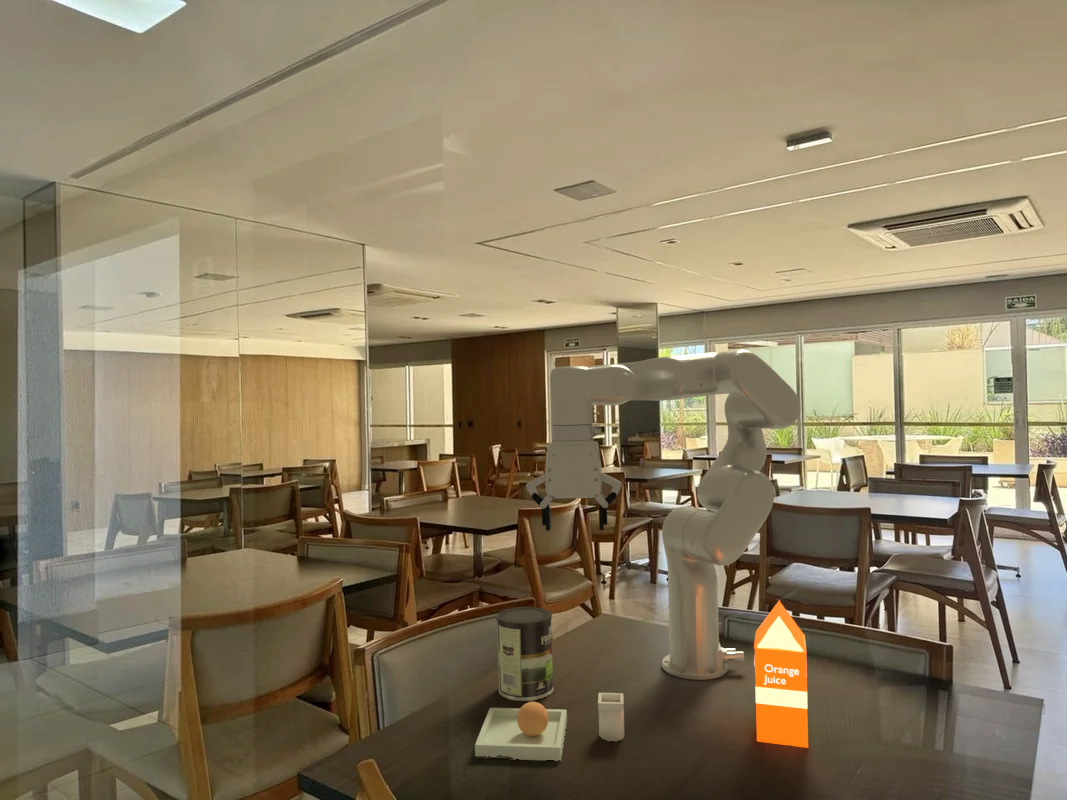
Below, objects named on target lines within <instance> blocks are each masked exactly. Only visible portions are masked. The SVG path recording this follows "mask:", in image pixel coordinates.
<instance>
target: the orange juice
mask: <svg viewBox="0 0 1067 800" xmlns="http://www.w3.org/2000/svg"><path fill="white" fill-rule="evenodd" d="M753 649H754V658H753V659H754V660H753V663H754V668H755V669H754V674H755V679H754V680H755V685H754V686H755V687H754V689H755V710H756V711H755V713H756V714H755V715H756V717H755V718H756V721H755V722H756V723H755V724H756V742H758V743H759V742H760V743H765V744H766V743H767V744H775V745H783V746H789V747H790V745H791V746H792V747H798V748H799V747H800V748H804V749H805V748H806V749H808V748H809V727H808V726H809V724H808V720H809V719H808V683H807V682H808V680H807V678H808V673H807V672H808V670H807V661H808V660H807V642H806V636H805V634H804V633H803V631H802V630H801V629H800V627H799V626H798V624H797V622H796V621H795V620H794V619H793V617H792V616H791V615H790V613H789V612H788V611H787V609H786V608H785V607H784V605H783V604H782V603H781V600H780V599H779V600H778V601H777V603H776V604H775V605H774V607H772V610H771V611H770V612H769V613H768V614H767V616H766V617H765V618H764V620H763V621H762V623H761V624H760V625H759V626H758V628H757V629H756V630H755V635H754V644H753Z"/></svg>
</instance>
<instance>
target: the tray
mask: <svg viewBox="0 0 1067 800" xmlns="http://www.w3.org/2000/svg"><path fill="white" fill-rule="evenodd" d="M520 708H521V707H519V708H517V707H515V708H514V707H513V708H512V707H489V709H488V711H487V714H486V717H485V718H484V721H483V724H482V727H481V729H480V731H479V734H478V736H477V738H476V741H475V744H474V757H475V756H487V757H488V756H491V757H496V756H498V755H502V756H509V757H512V758H513V759H512V760H516V759H519V760H520V761H521V760H523V761H526V760H527V761H546V760H554V761H553V762H561V761H562V757H563V750H564V744H563V743H564V742H565V737H564V736H566V731H565V729H566V730H567V724H568V712H567V711H568V710H567V709H559V708H558V709H553V708H552V709H551V708H545V709H546V711H547V713H548V725H547V727H546V729H545V730H544V731H543V732H542V733H541V734H539V735H537V736H529V735H526V734H524V733H523V732H522V731H521V730H520V728H519V726H518V723H517V715H518V712H519V710H520ZM566 723H567V724H566ZM562 749H563V750H562ZM561 756H562V757H561ZM559 760H560V761H559Z"/></svg>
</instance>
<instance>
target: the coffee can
mask: <svg viewBox="0 0 1067 800" xmlns="http://www.w3.org/2000/svg"><path fill="white" fill-rule="evenodd" d="M552 615H553V614H552V612H551V611H550V610H548V609H545V608H541V607H536V606H535V607H534V606H518V607H512V608H507V609H504V610H500V611H499V612H498V613H497V614H496V615H495V618H496V622H497V624H496V626H497V627H496V628H497V629H496V630H497V662H498V693H499V695H500V696H501V697H503V698H505V699H507V700H510V701H515V702H516V701H517V702H535V701H538V699H539V700H541V699H545V698H548V697H549V696H551V694H552V693H553V691H554V679H553V673H554V671H553V669H554V668H553V643H552V642H553V641H552V640H553V635H552ZM548 695H549V696H548ZM544 697H545V698H544Z"/></svg>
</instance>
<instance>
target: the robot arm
mask: <svg viewBox="0 0 1067 800" xmlns="http://www.w3.org/2000/svg"><path fill="white" fill-rule="evenodd" d="M549 374H550V375H549V389H550V390H549V392H550V426H551V428H550V430H551V431H550V432H551V442H550V441H549V442H548V443H547V448H546V449H547V450H546V456H545V471H544V474H541V475H540V476H538V477H536V478H534V479H532V480H531V481H528V482H527V483H526V484H525V488H526V490H527V491H528V494H529V495H530V497H531V499H532V500H533V501H534V502H535V503H536V504H537V505H538V506H539V508H540V509H541V524H542V526H545V531H546V532H547V531H548V532H549V531H550V530H551V529H552V510H551V508H552V507H551V506H550V503H551V502H552V500H554V499H588V498H589V499H591V498H594V500H595V501H597V503H598V505H599V507H598V522H599V525H598V526H599V530H600V531H604V530H605V529H604V526H608V507H609V506H610V505H611V504H612V503H613V501H615V500H616V499H617V496H618V494H619V492H620V490H621V488H622V487H623V483H622V481H620V480H618V479H616V478H614V477H612V476H610V475H608V474H605V473H604V472H602V460H601V452H600V447H599V443H598V441H595V440H594V438H595V437H597V436H601V435H602V428H601V427H597V426H594V424H593V419H594V418H593V417H594V416H593V406H620V405H623V404H625V403H627V402H628V401H630V402H631V401H652V402H653V401H655V402H657V401H660V402H661V401H663V402H664V401H675V400H683V399H689V398H699V397H707V396H715V395H726V394H728V395H727V397H726V399H725V402H724V415H725V420H726V425H727V440H726V443H725V444H724V447H723V448H722V450H721V452H719V455H718V456H717V457H716V459H715V460H714V461H713V463H712V464H711V466H709V468H708V470H707V471H706V472H705V474H704V475H703V476H702V478H701V480H700V482H699V483H698V485H697V490H696V498H697V500H698V502H699V504H700V505H701V506H702V507H703V508H697V507H691V506H682V507H677V508H675V509H673V510H672V511H670V512H669V513H668V514H667V515H666V517H665V519H664V521H663V524H662V528H661V537H662V544H663V549H664V553H665V558H666V565H667V580H668V581H667V582H668V583H667V584H668V587H667V589H668V590H667V591H668V624H669V625H668V627H669V630H668V631H669V632H668V635H669V636H668V637H669V653H668V654H667V655H665V656H664V657H663V659H662V661H661V666H662V669H663V671H665V672H666V673H668V674H669V675H672V676H674V677H677V678H681V679H686V680H697V681H702V680H703V681H706V680H707V681H708V680H713V679H717V678H720V677H723V676H725V674H726V673H727V672H728V670H729V668H728V662H735V663H745V652H744V651H736V648H732V647H731V648H724V647H722V646H721V643H720V641H719V640H720V637H719V635H720V633H719V631H720V630H719V592H718V591H719V588H718V587H719V586H718V585H719V584H718V575H717V570H716V567H715V566H722V567H723V566H728V565H731V564H733V563H734V562H736V561H737V560H738V559H739V558H740V557H741V556H742V555H743V554H744V552H745V551H746V550H747V548H748V547H749V546H750V544H751V542H752V541H753V539H754V538H755V536H756V535H757V533H758V531H759V530H760V529H761V527H762V526H763V525H764V523H765V522H766V520H767V519H768V516H770V513H771V510H772V509H773V505H774V500H775V489H774V486H773V483H772V481H771V479H770V478H769V477H768V476H767V475H766V474H764V473H763V472H761V471H762V468H763V467H764V464H765V462H766V461H767V453H768V451H767V446H766V441H765V435H764V433H763V429H770V430H782V429H785V428H789V427H790V426H793V425H794V424H795V423H796V422H797V420H798V418H799V416H800V413H801V403H800V399H799V397H798V395H797V393H796V392H795V390H794V389H793V387H791V386H790V385H789V384H788V383H787V382H786V381H785V380H784V379H783V378H782V377H781V376H780V375H779V374H778V373H777V372H776V371H775V370H774V369H773V368H772V367H771V366H770V365H769V364H768V363H767V362H766V361H765V360H763V359H762V358H761V357H760V356H758V355H757V354H756V353H754V352H752V351H750V350H747V349H735V350H727V351H726V350H725V351H714V352H713V351H711V352H702V353H701V352H700V353H691V354H681V355H671V356H670V355H669V356H661V357H660V356H659V357H655V358H648V359H645V360H639V361H632V362H630V361H629V362H624V363H614V364H613V363H611V364H600V365H599V364H598V365H591V366H590V365H589V366H582V365H571V366H569V365H568V366H557V367H554V368H552V369H551V371H550V373H549ZM603 482H604V483H605V484H607V485H609V486H611V487H612V489H611V492H609V494H607V495H606V496H605V495H604V494H603V493H602V491H603ZM543 483H544V486H545V487H544V488H545V494H546V495H545V496H544V497H543V496H542V495H540V493H538V490H537V487H538V486H539V485H541V484H543ZM704 508H705V509H704Z"/></svg>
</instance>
